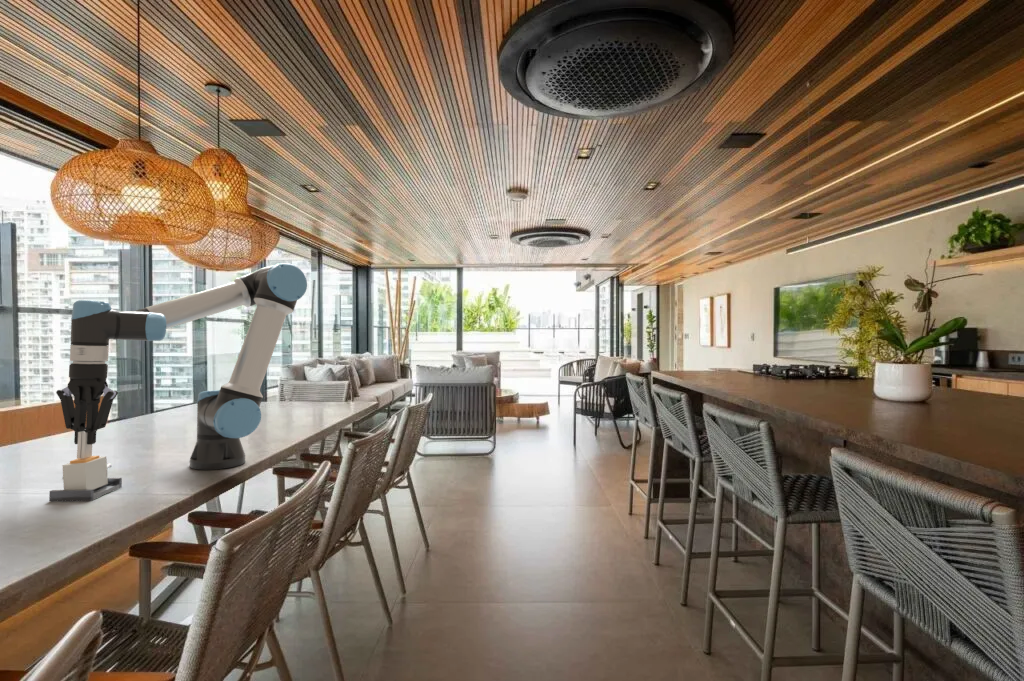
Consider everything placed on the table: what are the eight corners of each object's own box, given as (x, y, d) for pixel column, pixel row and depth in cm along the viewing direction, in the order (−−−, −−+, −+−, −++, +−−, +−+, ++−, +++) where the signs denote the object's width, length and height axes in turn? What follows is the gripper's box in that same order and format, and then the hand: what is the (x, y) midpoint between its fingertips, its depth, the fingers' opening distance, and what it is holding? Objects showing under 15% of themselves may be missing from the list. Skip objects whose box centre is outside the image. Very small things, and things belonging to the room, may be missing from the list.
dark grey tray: (121, 487, 138) (121, 477, 138) (90, 501, 126) (90, 490, 126) (84, 487, 137) (84, 477, 137) (49, 501, 125) (49, 491, 125)
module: (107, 483, 136) (106, 454, 136) (86, 492, 128) (84, 461, 128) (86, 485, 135) (85, 455, 135) (64, 494, 127) (62, 462, 127)
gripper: (48, 362, 127) (43, 460, 127) (108, 364, 129) (103, 461, 129) (70, 361, 135) (66, 453, 135) (126, 363, 136) (122, 454, 136)
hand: (84, 457), depth 132 cm, fingers closed
